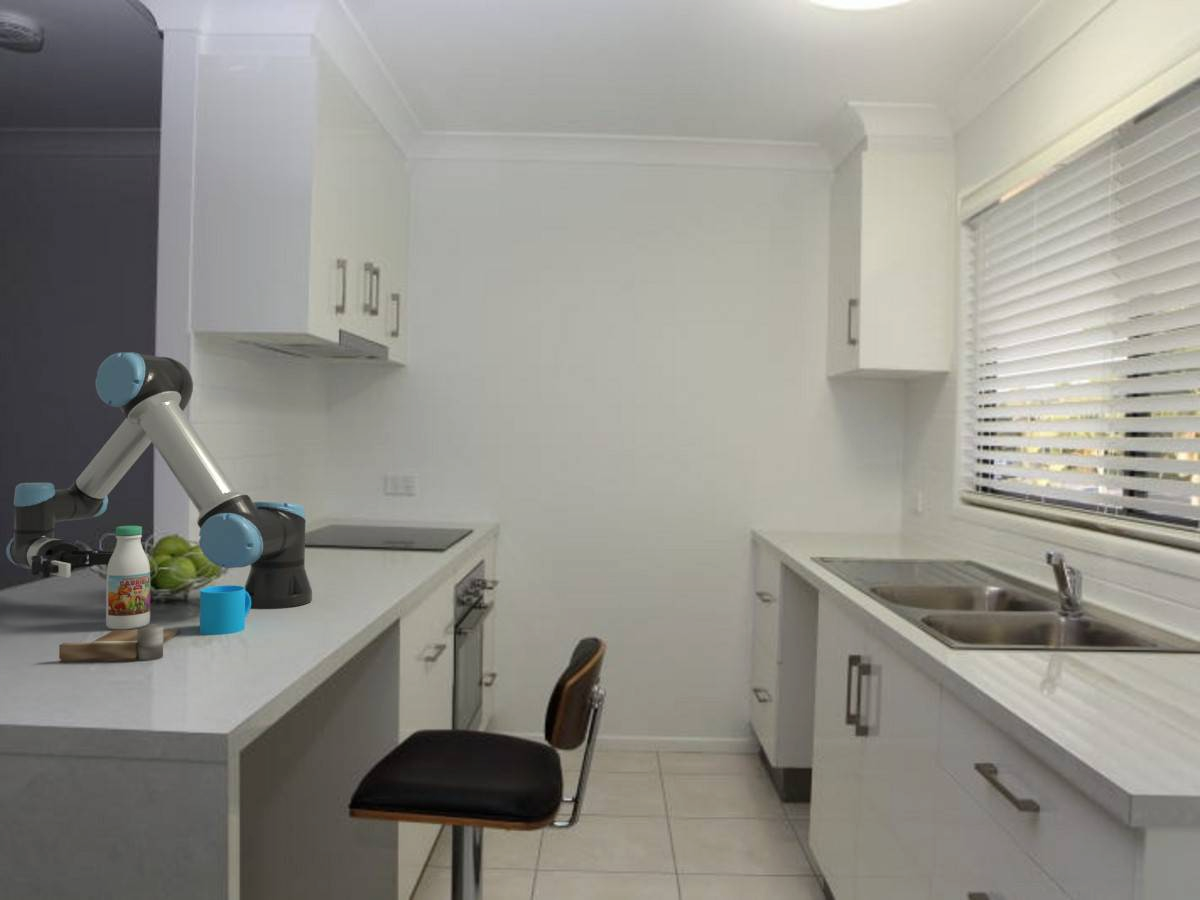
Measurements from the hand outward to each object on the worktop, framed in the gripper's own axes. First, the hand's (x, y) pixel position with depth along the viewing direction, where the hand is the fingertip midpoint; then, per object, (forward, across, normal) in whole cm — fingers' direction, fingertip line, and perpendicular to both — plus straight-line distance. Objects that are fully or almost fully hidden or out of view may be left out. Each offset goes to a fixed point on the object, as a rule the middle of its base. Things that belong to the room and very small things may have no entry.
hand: (104, 566), depth 173 cm
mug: (+26, -11, -11) cm, 31 cm away
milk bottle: (+9, 0, -11) cm, 15 cm away
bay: (+26, +7, -11) cm, 29 cm away
